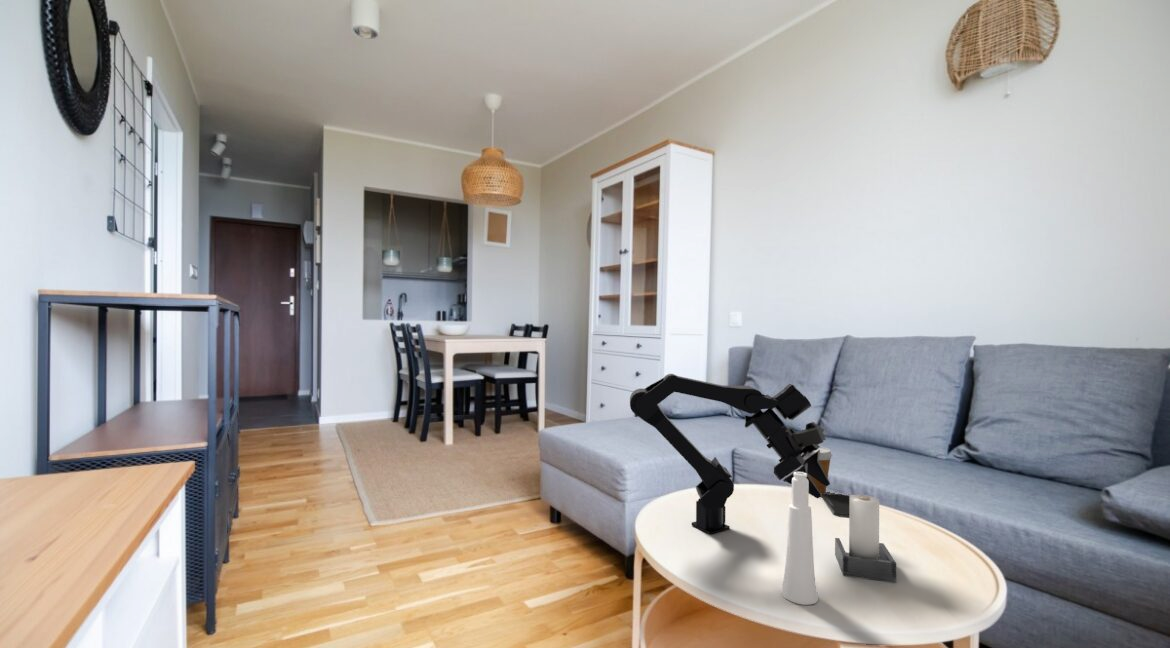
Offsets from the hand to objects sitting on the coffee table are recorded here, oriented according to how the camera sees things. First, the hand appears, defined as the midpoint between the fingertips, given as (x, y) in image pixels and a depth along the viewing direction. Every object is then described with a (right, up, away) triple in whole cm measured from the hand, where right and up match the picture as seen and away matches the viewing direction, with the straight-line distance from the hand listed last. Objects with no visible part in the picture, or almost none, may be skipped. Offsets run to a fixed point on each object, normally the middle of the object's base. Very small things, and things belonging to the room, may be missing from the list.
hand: (824, 491), depth 112 cm
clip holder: (+3, -12, -11) cm, 16 cm away
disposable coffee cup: (+13, -11, +35) cm, 39 cm away
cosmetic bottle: (-15, -12, -22) cm, 29 cm away
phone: (+15, -12, +22) cm, 29 cm away
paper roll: (+3, -11, -11) cm, 16 cm away
